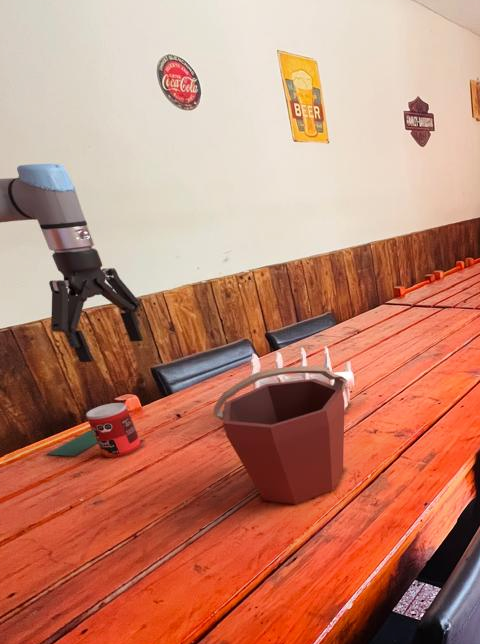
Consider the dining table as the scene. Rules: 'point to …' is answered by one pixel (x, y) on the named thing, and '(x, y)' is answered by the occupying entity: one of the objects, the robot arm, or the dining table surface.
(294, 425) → the bucket
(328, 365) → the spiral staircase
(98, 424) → the canned food
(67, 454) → the edge mat
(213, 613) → the dining table surface
